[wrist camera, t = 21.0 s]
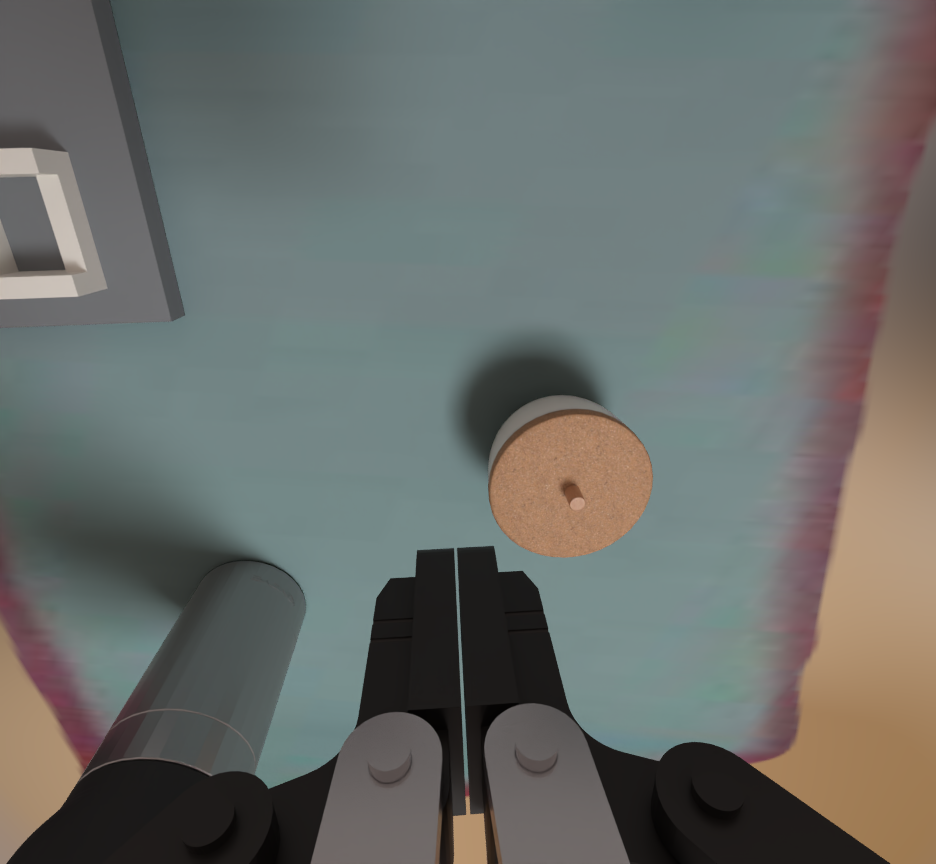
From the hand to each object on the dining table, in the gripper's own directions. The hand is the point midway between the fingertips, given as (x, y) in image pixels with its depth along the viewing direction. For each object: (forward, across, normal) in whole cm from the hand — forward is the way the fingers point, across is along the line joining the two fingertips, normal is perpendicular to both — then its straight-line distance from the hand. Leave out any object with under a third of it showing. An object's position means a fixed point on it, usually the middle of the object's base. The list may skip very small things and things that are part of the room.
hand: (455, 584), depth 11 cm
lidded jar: (+29, -8, +11) cm, 32 cm away
